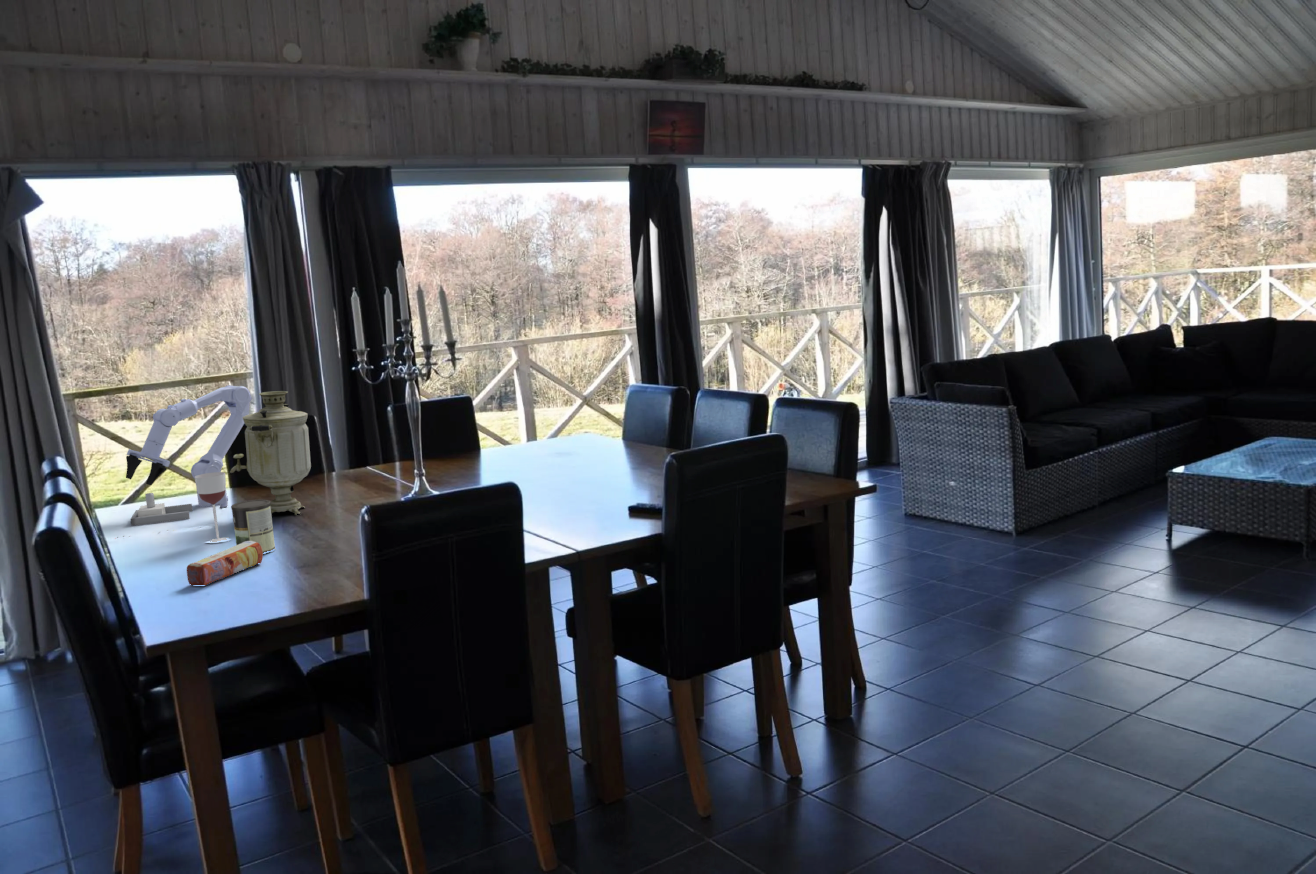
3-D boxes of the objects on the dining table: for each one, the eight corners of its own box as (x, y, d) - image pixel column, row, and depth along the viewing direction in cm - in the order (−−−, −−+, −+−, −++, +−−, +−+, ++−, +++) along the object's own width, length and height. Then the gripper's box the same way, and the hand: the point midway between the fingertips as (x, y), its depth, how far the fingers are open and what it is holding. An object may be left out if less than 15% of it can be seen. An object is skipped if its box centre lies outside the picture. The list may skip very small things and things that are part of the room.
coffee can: (232, 558, 287) (225, 508, 285) (243, 548, 297) (237, 500, 295) (270, 555, 288) (264, 506, 286) (280, 546, 298) (274, 498, 296)
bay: (193, 513, 349) (191, 503, 348) (189, 522, 336) (188, 511, 335) (137, 520, 343) (135, 510, 343) (132, 529, 330) (130, 518, 330)
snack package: (206, 588, 260) (202, 562, 259) (185, 587, 262) (182, 561, 261) (265, 564, 280) (262, 540, 278) (246, 563, 282) (243, 539, 281)
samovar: (267, 502, 360) (254, 388, 354) (336, 502, 355) (324, 386, 348) (215, 524, 331) (199, 400, 325) (289, 523, 326) (274, 397, 320)
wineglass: (239, 537, 311) (231, 472, 308) (218, 545, 303) (209, 478, 300) (218, 536, 314) (209, 471, 311) (196, 544, 306) (188, 478, 303)
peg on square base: (165, 514, 344) (162, 489, 342) (163, 520, 335) (159, 494, 334) (142, 517, 341) (139, 492, 340) (139, 523, 333) (135, 497, 332)
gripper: (128, 434, 340) (111, 472, 337) (167, 445, 338) (150, 484, 334) (141, 439, 347) (124, 478, 343) (179, 450, 344) (162, 489, 341)
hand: (138, 481), depth 339 cm, fingers open, 7 cm apart
